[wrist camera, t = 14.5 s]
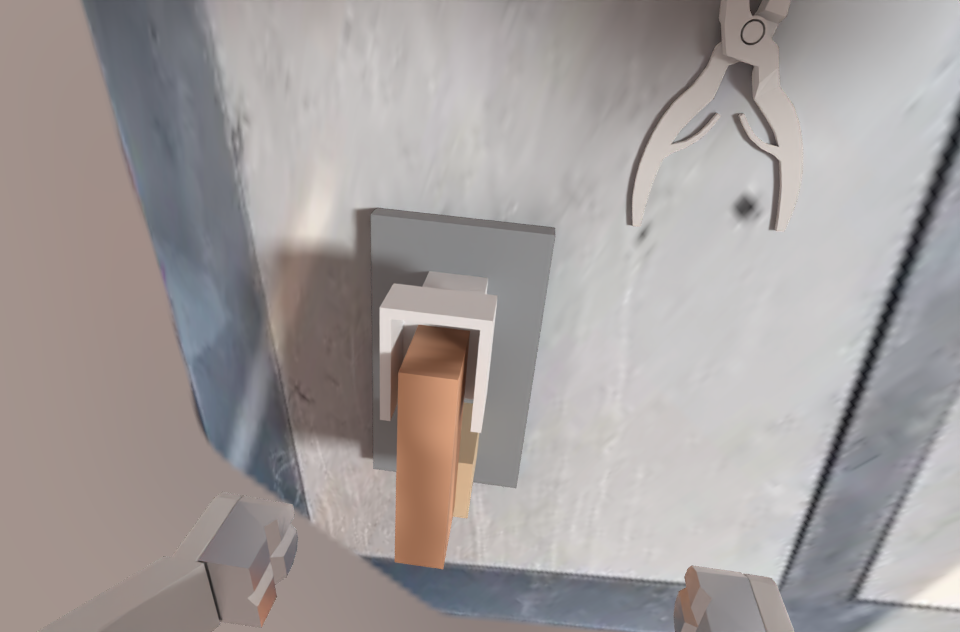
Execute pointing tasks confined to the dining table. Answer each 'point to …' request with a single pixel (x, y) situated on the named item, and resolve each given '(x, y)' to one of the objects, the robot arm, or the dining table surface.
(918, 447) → the dining table surface
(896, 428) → the dining table surface
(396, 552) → the rail
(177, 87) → the dining table surface
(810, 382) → the dining table surface
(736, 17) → the pliers
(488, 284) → the rail stand
